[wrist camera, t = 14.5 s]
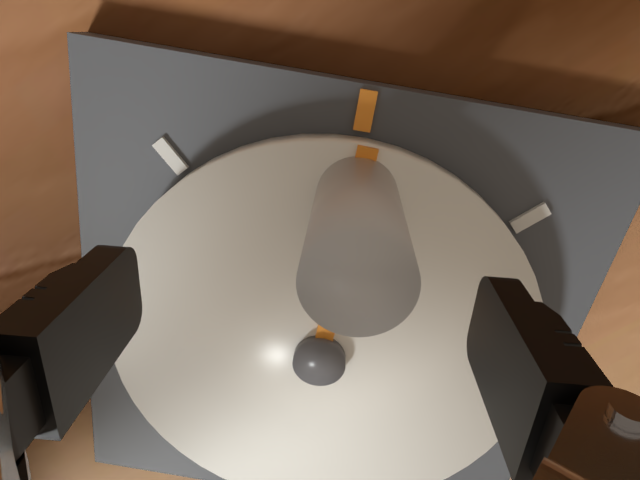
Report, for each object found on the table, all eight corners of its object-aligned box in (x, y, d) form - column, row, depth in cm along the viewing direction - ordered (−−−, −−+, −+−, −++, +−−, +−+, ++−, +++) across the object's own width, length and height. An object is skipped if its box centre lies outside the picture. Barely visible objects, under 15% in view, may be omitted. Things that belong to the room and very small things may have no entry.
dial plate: (480, 504, 30) (487, 530, 28) (106, 441, 30) (93, 464, 28) (649, 129, 20) (675, 137, 18) (86, 31, 20) (64, 32, 18)
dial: (458, 507, 27) (499, 695, 20) (120, 443, 27) (27, 609, 19) (608, 186, 19) (780, 294, 11) (122, 88, 19) (-41, 132, 11)
